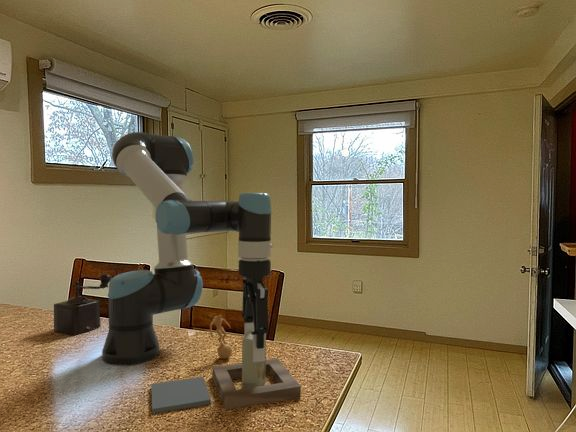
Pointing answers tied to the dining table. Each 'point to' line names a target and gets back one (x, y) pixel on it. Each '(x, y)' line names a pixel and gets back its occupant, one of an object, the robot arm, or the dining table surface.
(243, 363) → the skincare box
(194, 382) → the slate pad
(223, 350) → the figurine
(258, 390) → the stand
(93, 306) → the dark grey handled box
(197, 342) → the dining table surface
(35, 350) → the dining table surface
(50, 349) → the dining table surface
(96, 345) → the dining table surface
